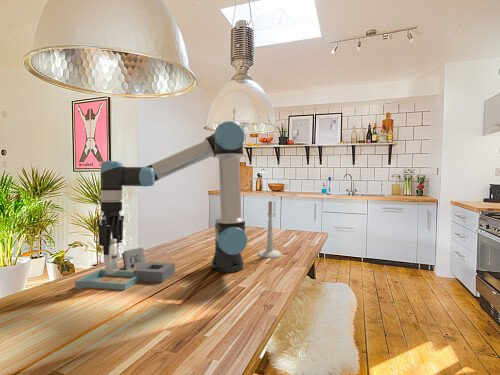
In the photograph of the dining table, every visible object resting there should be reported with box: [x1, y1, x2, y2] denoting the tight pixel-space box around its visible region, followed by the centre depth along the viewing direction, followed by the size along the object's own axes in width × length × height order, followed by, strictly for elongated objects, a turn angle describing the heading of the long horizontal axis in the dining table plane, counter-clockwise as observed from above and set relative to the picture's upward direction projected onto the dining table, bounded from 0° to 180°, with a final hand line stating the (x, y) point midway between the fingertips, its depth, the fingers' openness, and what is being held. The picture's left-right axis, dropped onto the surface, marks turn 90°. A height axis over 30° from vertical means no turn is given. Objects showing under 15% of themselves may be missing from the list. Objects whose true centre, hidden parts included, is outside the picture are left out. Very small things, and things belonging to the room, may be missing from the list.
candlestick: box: [257, 200, 282, 259], centre depth 156 cm, size 13×13×30 cm
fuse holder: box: [133, 261, 176, 284], centre depth 117 cm, size 12×12×5 cm
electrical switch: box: [121, 247, 147, 271], centre depth 131 cm, size 9×5×9 cm, turn 141°
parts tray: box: [74, 268, 139, 291], centre depth 111 cm, size 20×14×3 cm
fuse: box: [104, 237, 118, 274], centre depth 111 cm, size 4×4×13 cm
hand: (111, 260), depth 111 cm, fingers closed on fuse, 4 cm apart
